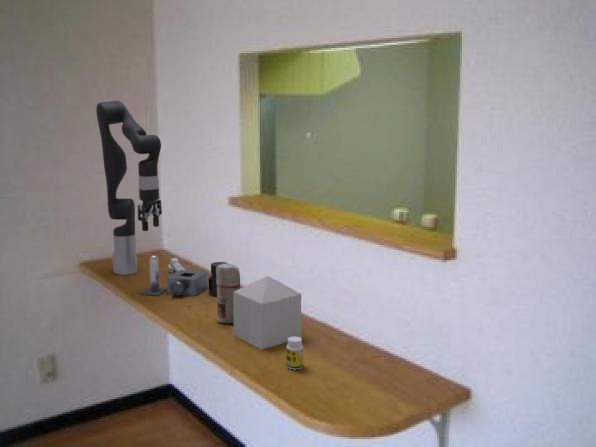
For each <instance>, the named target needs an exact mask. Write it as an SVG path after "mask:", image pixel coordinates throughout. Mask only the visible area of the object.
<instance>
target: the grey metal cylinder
mask: <svg viewBox="0 0 596 447" xmlns="http://www.w3.org/2000/svg"><path fill="white" fill-rule="evenodd" d="M148 261H149V262H148V263H149V264H148V265H149V282H150V283H149V285H150V286H149V287H150V289H151V292H158V291H159V288H160V274H159V272H160V271H159V269H160V268H159V257H158V255H156V254H152V255H150V256H149V260H148Z"/></svg>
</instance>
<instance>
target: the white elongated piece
mask: <svg viewBox="0 0 596 447" xmlns="http://www.w3.org/2000/svg"><path fill="white" fill-rule="evenodd" d="M167 268H168V272H169V273H170V274H171V273H172V274H174V273H176V272H177V271H179V270H186V269H185V268H184V267H183V265H182V264H180V260H179V258H176V257H173V258H171V259H170V261H169V264H168V267H167Z"/></svg>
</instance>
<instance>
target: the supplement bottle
mask: <svg viewBox="0 0 596 447" xmlns="http://www.w3.org/2000/svg"><path fill="white" fill-rule="evenodd" d="M285 349H286V350H285V351H286V352H285V353H286V355H285V356H286V358H285V359H286V362H285V363H286V368H287V369H288V368H289V369H288V370H291V369H293V370H292V371H297V370H296V369H299V370H302V368H303V367H304V346H303V338H302V337H289V338H288V342H287V345H286V348H285Z"/></svg>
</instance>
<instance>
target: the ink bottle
mask: <svg viewBox="0 0 596 447" xmlns="http://www.w3.org/2000/svg"><path fill="white" fill-rule="evenodd" d="M221 264H229V263H228V262H226V261H214V262H212V263H210V276H208V278H207V282H208V294H209V295H210V296H214V297H217V284H216V281H217V275H216V267H217V266H218V265H221Z"/></svg>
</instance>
